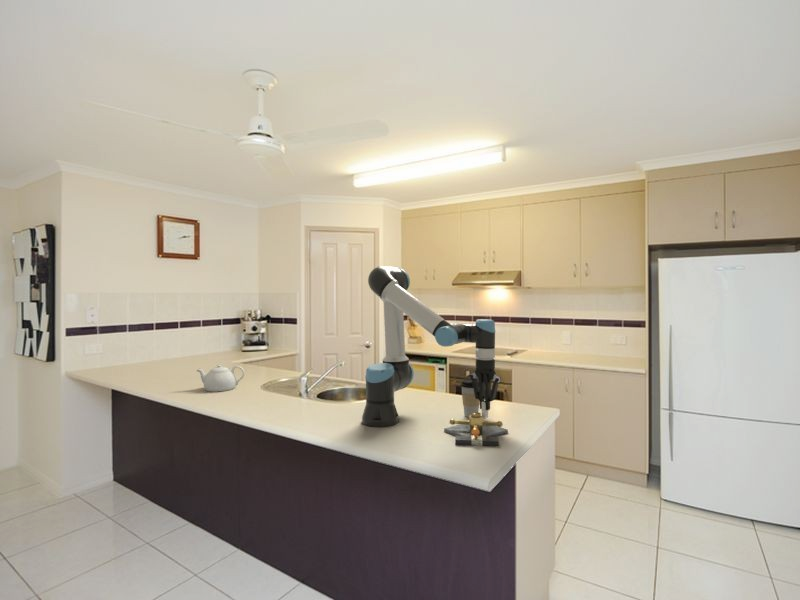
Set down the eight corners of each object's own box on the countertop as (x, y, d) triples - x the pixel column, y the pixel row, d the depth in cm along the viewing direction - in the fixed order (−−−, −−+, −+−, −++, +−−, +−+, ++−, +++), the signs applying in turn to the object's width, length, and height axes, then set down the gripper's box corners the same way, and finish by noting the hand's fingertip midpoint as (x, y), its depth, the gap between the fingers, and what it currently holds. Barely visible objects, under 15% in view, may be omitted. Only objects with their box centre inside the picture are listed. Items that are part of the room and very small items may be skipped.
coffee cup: (467, 419, 187) (467, 384, 186) (456, 414, 195) (455, 380, 195) (486, 417, 190) (486, 382, 190) (474, 411, 199) (474, 378, 199)
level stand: (477, 453, 148) (477, 447, 148) (430, 435, 167) (430, 429, 167) (524, 438, 163) (524, 432, 163) (476, 422, 182) (476, 418, 182)
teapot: (216, 394, 237) (215, 368, 236) (196, 390, 247) (195, 365, 246) (245, 387, 252) (245, 363, 252) (225, 384, 262) (225, 361, 262)
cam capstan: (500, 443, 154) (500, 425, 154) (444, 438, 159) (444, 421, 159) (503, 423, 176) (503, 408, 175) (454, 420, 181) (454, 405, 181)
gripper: (504, 358, 175) (504, 418, 176) (475, 355, 183) (474, 412, 184) (496, 361, 169) (495, 423, 170) (466, 358, 177) (465, 416, 178)
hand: (484, 417), depth 177 cm, fingers closed
